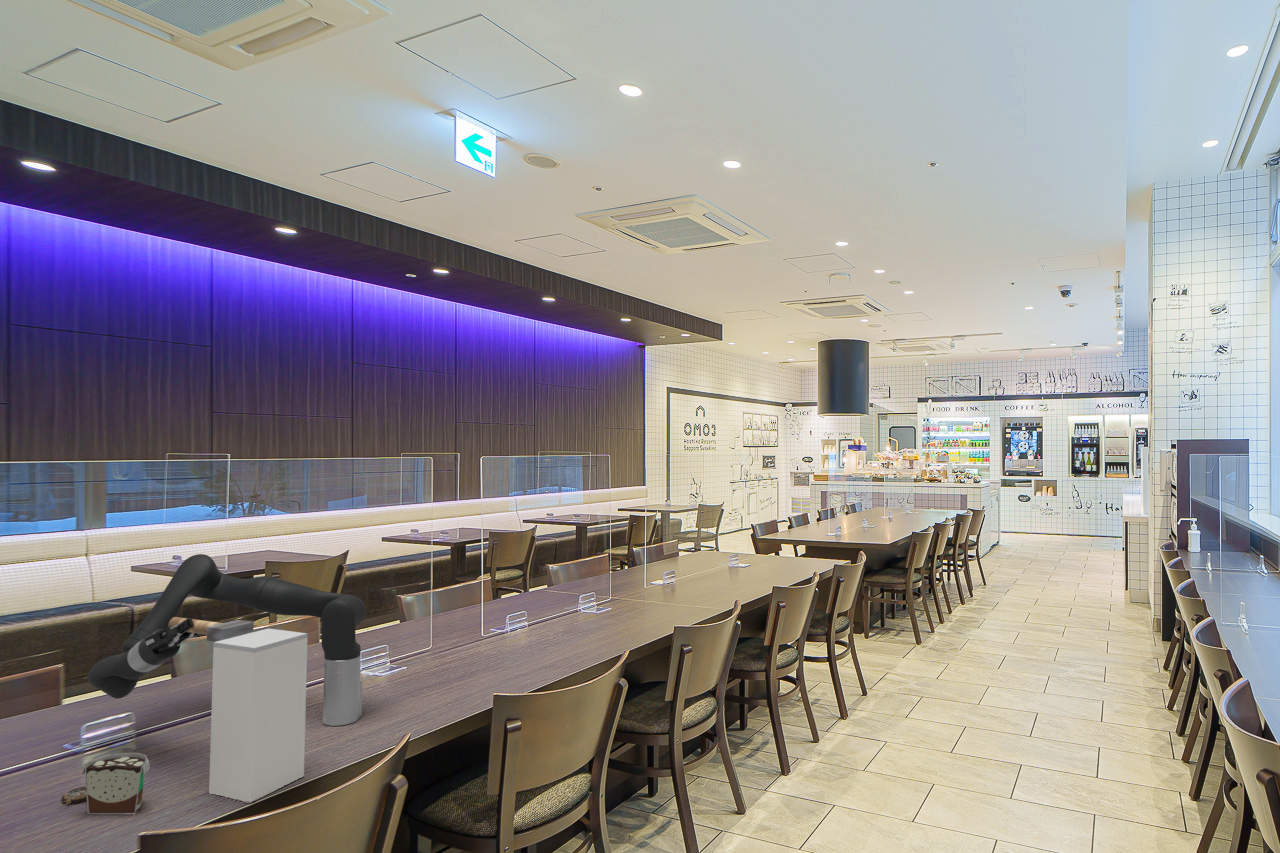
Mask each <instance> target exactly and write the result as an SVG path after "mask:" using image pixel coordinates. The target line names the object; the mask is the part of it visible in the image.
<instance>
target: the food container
mask: <svg viewBox="0 0 1280 853" xmlns="http://www.w3.org/2000/svg"><path fill="white" fill-rule="evenodd" d="M149 770H150V762H149V759H148V757H147V755H145V753H144V754H143V753H139V752H124V753H115V754H109V755H106V756H101V757H99V758H95V759H93V760H91V761H88V762H86V763H84V766H83V768H82V771H81V775H84V777H85V778H84V780H85V786H86V795H87V801H86V804H87V805H86V808H87V810H86V811H87V815H88V814H123V815H126V814H125V813H136V812H137V811H138V810H139V809H140V810H141V806H142V799H143V793H144V792H143V791H144V785H145V778H146V777H145V776H146V773H147V772H149ZM140 810H139V811H140ZM136 814H137V813H136Z"/></svg>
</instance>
